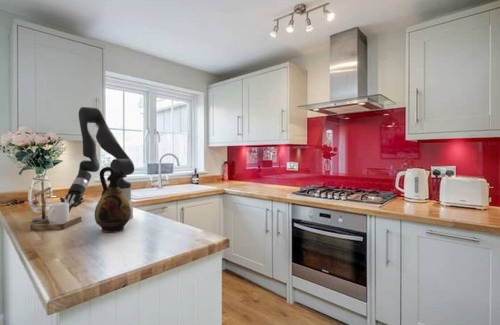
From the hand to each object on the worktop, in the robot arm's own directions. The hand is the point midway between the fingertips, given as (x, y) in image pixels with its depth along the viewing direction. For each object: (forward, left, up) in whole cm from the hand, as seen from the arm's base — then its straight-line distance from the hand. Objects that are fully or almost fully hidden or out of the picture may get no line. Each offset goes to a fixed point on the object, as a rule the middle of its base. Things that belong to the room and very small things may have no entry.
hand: (65, 213), depth 140 cm
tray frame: (-1, +8, -4) cm, 10 cm away
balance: (+14, -4, -4) cm, 15 cm away
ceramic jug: (-32, +17, -5) cm, 37 cm away
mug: (0, +6, -5) cm, 8 cm away
